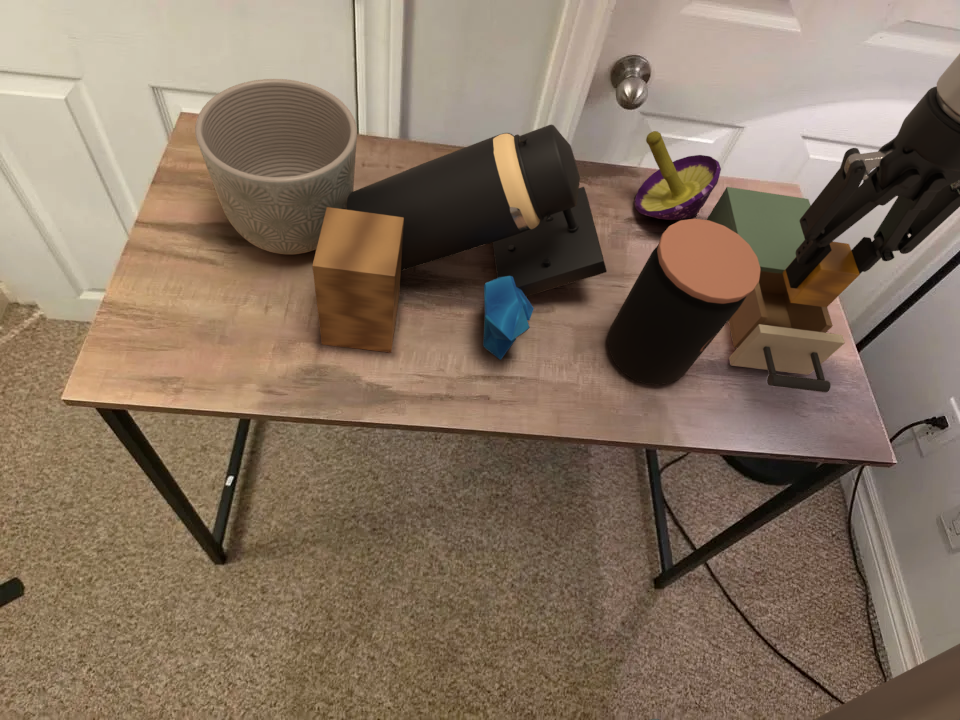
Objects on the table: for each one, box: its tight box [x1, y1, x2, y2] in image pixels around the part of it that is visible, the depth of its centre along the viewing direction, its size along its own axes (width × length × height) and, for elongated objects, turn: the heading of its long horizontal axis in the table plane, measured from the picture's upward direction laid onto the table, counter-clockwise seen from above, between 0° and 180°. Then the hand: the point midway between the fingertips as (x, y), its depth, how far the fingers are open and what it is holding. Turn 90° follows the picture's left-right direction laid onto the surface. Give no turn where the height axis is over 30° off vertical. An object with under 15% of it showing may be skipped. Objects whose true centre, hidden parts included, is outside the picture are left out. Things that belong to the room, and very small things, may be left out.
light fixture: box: [347, 124, 607, 297], centre depth 76 cm, size 13×18×26 cm
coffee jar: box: [607, 218, 761, 386], centre depth 72 cm, size 11×11×18 cm
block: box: [783, 241, 861, 308], centre depth 72 cm, size 4×4×6 cm
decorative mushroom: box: [633, 130, 722, 221], centre depth 89 cm, size 12×12×15 cm
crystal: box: [482, 276, 535, 361], centre depth 73 cm, size 7×9×12 cm
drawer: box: [728, 271, 846, 393], centre depth 78 cm, size 18×10×7 cm, turn 177°
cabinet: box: [706, 186, 812, 274], centre depth 85 cm, size 14×12×9 cm
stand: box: [312, 207, 404, 353], centre depth 70 cm, size 8×8×14 cm
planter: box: [194, 78, 358, 255], centre depth 75 cm, size 17×17×15 cm
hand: (812, 281), depth 73 cm, fingers closed on block, 4 cm apart
